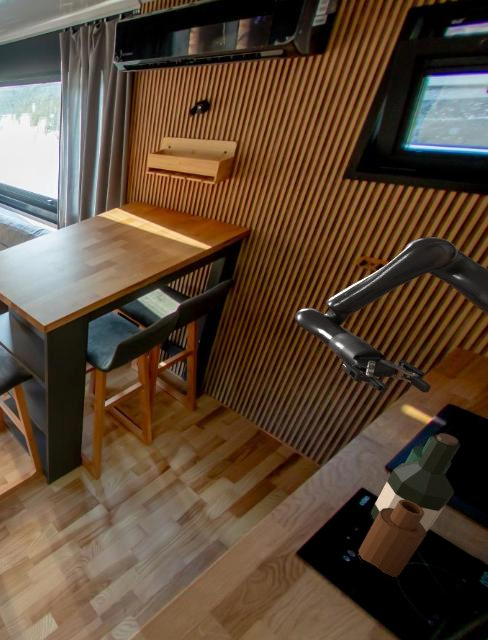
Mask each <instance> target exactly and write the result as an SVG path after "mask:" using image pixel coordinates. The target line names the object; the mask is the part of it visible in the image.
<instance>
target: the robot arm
mask: <svg viewBox="0 0 488 640" xmlns="http://www.w3.org/2000/svg"><path fill="white" fill-rule="evenodd" d="M426 274H429V275H431V276H433V277H435V278H437V279H438V280H441V281H442V282H443V283H446V284H447V285H449V286H450V287H452V289H454V290H455V291H456V292H458V293H459V294H460V295H461V296H463V297H464V298H465V299H466V300H467V301H469V302H470V303H471V304H472V305H473V306H474V307H475V308H477V309H479V310H480V311H481V312H483V313H484V314H486V315H487V316H488V268H486V267H485V266H483V265H481V264H480V263H478V262H477V261H475V260H473V259H472V258H471V257H469V256H468V255H467V254H466V253H464V252H462V251H461V250H460V249H459V248H457V247H456V246H455V244H453V242H451V241H449V240H447V239H445V238H442V237H435V236H427V237H426V236H425V237H421V238H417V239H414V240H412V241H410V242H409V243H408V244H407V245H406V246H405V247H404V248H403V250H402V251H401V252H400V253H398V255H396V256H395V257H394V258H393V259H392V260H391V261H390V262H388V263H387V264H385V265H384V266H381V268H379V269H378V270H376V271H374V272H373V273H371V274H369V275H367V276H365V277H363V278H362V279H360V280H358V281H356V282H354V283H352V284H351V285H348V286H347V287H345V288H344V289H341V290H340V291H338V292H337V293H335V294H334V295H332V296H331V297H329V298H328V299H327V300H326V301H325V304H326V306H327V308H329V309H328V311H327V312H326V313H324V312H322V311H320V310H318V309H316V308H312V307H303V308H301V309H299V310H297V311H296V313H295V315H294V321H295V323H296V324H297V325H298V326H299V327H300V328H302V329H303V330H304V331H307V332H308V333H309V334H311V335H313V336H314V337H315V338H317V339H318V340H319V341H320V342H321V343H323V344H324V345H325V346H326V347H327V348H328V349H330V350H331V351H332V352H333V354H335V355H336V356H337V357H338V358H340V359H341V360H342V361H343V362H342V365H341V368H340V369H341V370H342V371H343V372H345V373H346V374H347V376H349V377H350V378H351V379H352V380H353V381H354V382H357V383H359V382H361V381H362V382H364V383H366V384H368V385H370V386H371V387H372V388H373V389H375V390H377V391H378V392H380V393H386V392H387V389H388V385H387V384H385V382H383V381H381V379H379V378H381V377H384V378H392V379H395V380H397V381H400V380H402V381H405V382H408V383H410V385H412V386H413V387H415V388H416V389H417V390H418V391H420V392H422V393H423V394H424V393H426V394H427V393H429V392H430V390H431V385H430V384H429V383H428V382H427V381H425V380H423V379H424V377H425V375H426V373H425V372H424V371H422V370H421V369H419V368H417V367H415V366H414V365H413V364H411V363H409V362H408V361H406V360H403V359H400V360H399V361H398V362H393V361H392V360H391V361H390V360H388V359H387V358H386V357H385V355H384V354H383V353H382V352H381V351H380V350H378V349H377V348H376V347H374V346H373V345H372V344H370V343H369V342H367V341H366V340H364V339H363V338H361V337H360V336H357V335H356V334H354V333H352V332H351V331H350V330H349V329H347V328H346V327H343V326H342V325H343V324H344V323H345V322H346V321H347V320H348V319H349V318H350V317H351V316H352V315H354V314H356V313H357V312H359V311H362V309H364V308H366V307H368V306H370V305H372V304H373V303H374V302H376V301H378V300H379V299H380V298H382V297H384V296H385V295H387V294H388V293H390V292H392V291H393V290H395V289H397V288H399V287H400V286H402V285H405V284H406V283H409V282H410V281H412V280H415V279H418V278H419V277H421V276H425V275H426ZM396 371H398V373H397V374H395V372H396ZM405 375H407V376H405Z"/></svg>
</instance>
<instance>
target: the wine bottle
mask: <svg viewBox="0 0 488 640" xmlns="http://www.w3.org/2000/svg"><path fill="white" fill-rule="evenodd" d="M432 436H433V438H432V439H431V441H430V443H429V445H428V446H427V448H426V450H425V452H424V453H423V455H422V457H421V459H420V460H419V461H417V462H410V463H405V462H404V463H403V462H402V463H401V464H399V465H397V466H396V467H395V468H394V469H393V470H392V471H391V474H390V475H389V477H388V479H387V481H386V482H385V484H384V486H383V488H382V490H381V492H380V494H379V495H378V498H377V500H376V501H375V503H374V505H373V507H372V509H371V511H370V513H371V515H372V518H373V519H374V521H375V519H376V518H377V516H378V514H379V512H380V511H381V510H382V509H383V508H393V509H395V507H396V505H397V503H398V502H399V500H409V501H411V502H413V503H415V504H417V505H418V506H420V507H421V508H422V509H423V511H424V516H423V517H422V519H421V520H420V523H421V524H422V526H423V527H424V528H425V531H426V535H427V534H428V533H429V531H430V529H432V527H433V525H434V524H435V522H436V521H437V519H438V517H439V516H440V515H441V513H442V512H443V510H444V509H445V508H446V506H447V505H448V503H449V502H450V500H451V498H452V497H453V495H454V494H455V490H454V488H453V487H452V485H451V483H450V481H449V480H448V477H447V476H446V473H445V474H444V471H445V469H446V468H447V466H448V464H449V463H450V461H451V462H452V460H453V458H454V457H455V455H456V453H457V452H458V450H459V449H460V447H461V444H460V443H459V439H457V437H455V436H452V434H451V435H450V434H449V433H443V432H440V433H438V434H437V433H436V434H435V435H432ZM372 518H371V519H372ZM373 519H372V520H373ZM374 521H373V522H374Z"/></svg>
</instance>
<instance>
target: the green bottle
mask: <svg viewBox="0 0 488 640" xmlns="http://www.w3.org/2000/svg"><path fill="white" fill-rule="evenodd" d="M433 436H434V435H432V436H429V438H428V439H427V441H426V443H425V445H424V446H423V445H417V446H414V447H413V448H412V449H411V451H410V454H408V456H407V458H406V460H405V462H404V463H410V462H417V461H419V460H420V459H421V457H422V455H423V453H424V452H425V450H426V448H427V446H428V445H429V443H430V441H431V439H432V438H433ZM451 465H452V460H451V461H450V463H449V464H448V466H447V468H446V469H445V471H444V474H445V475H446V473H447V472H448V470H449V468H450V467H451Z"/></svg>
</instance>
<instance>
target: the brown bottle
mask: <svg viewBox="0 0 488 640" xmlns="http://www.w3.org/2000/svg"><path fill="white" fill-rule="evenodd" d="M423 516H424V511H423V509H422V508H421V507H420V506H418V505H417V504H415V503H413V502H411V501H409V500H399V502H398V503H397V505H396V507H395V509H393V508H383V509H382V510H381V511H380V512H379V514H378V516H377V518H376V519H375V521H373V523H372V525H371V527H370V528H369V530H368V532H367V534H366V536H365V537H364V539H363V541H362V543H361V545H360V547H359V549H358V552H359V554H358V556H359V555H360V556H361V558H362V559H363V560H365V561H367V562H369V563H371V564H372V565H374V566H376V567H377V568H378V569H380V570H381V571H382V572H383V573H385V574H388V575H390V576H392V577H396V578H398V577H399V576H400V575H401V573H402V571H403V570H404V569H405V568H406V565H408V563H409V561H410V559H411V558H412V557H413V555H414V553H416V551H417V549H418V548H419V546H420V545H421V543H422V541H423V540H424V539H425V537H426V536H427V534H426V531H425V528H424V527H423V526H422V524H421V523H420V520H421V519H422V517H423ZM398 575H399V576H398ZM397 576H398V577H397Z"/></svg>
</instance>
